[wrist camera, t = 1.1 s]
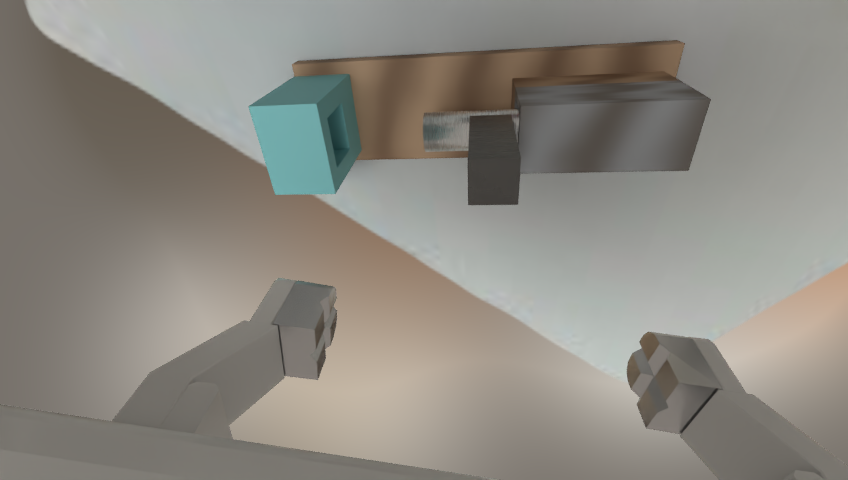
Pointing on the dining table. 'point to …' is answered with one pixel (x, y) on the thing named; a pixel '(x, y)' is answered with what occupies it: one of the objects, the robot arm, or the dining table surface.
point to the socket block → (308, 133)
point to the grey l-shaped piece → (480, 150)
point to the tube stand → (535, 103)
